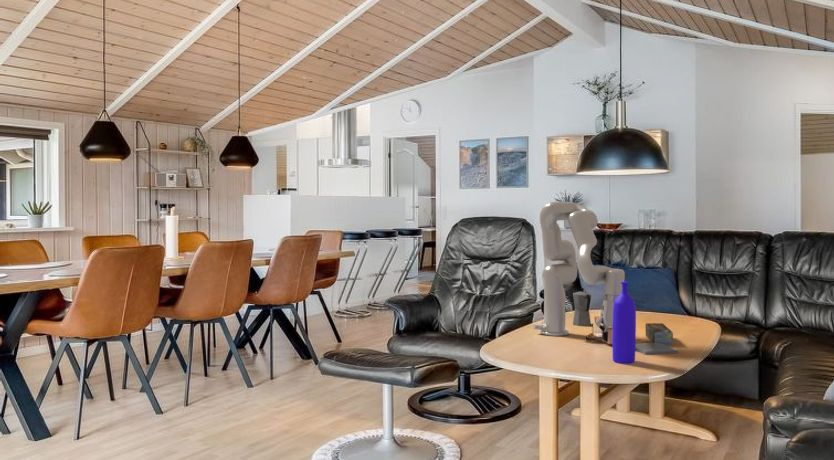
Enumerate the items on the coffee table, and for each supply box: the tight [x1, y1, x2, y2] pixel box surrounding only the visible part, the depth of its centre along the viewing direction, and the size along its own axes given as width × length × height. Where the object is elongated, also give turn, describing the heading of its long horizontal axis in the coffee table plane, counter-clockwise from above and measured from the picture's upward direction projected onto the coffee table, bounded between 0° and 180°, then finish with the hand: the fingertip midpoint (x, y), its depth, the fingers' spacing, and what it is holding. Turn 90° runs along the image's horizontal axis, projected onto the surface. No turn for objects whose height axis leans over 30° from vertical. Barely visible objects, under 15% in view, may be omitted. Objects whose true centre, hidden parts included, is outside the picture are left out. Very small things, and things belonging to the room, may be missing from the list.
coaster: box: [635, 342, 679, 355], centre depth 270 cm, size 14×14×1 cm
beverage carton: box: [645, 322, 674, 346], centre depth 288 cm, size 8×19×7 cm, turn 172°
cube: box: [601, 326, 613, 345], centre depth 279 cm, size 6×6×6 cm
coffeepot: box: [572, 287, 592, 327], centre depth 325 cm, size 15×9×18 cm, turn 9°
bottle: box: [612, 281, 637, 365], centre depth 250 cm, size 8×8×30 cm
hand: (612, 340), depth 280 cm, fingers closed on cube, 6 cm apart
